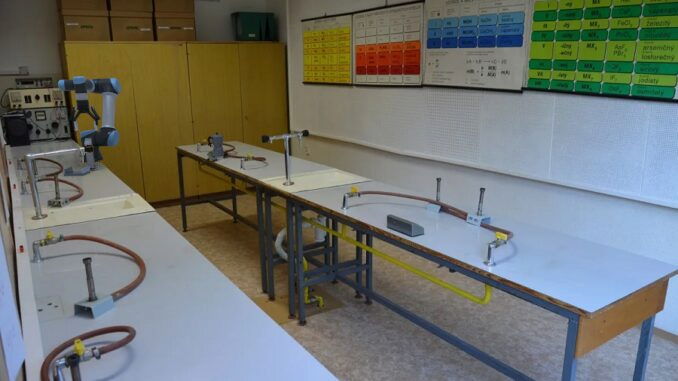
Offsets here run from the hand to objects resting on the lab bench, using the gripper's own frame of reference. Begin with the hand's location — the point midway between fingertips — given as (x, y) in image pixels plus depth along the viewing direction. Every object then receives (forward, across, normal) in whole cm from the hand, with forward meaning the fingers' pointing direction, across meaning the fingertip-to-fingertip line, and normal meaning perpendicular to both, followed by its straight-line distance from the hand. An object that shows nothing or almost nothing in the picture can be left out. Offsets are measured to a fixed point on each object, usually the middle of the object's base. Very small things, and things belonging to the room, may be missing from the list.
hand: (86, 130), depth 344 cm
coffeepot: (+26, +80, +40) cm, 93 cm away
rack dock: (+27, 0, -21) cm, 34 cm away
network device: (+27, 0, 0) cm, 27 cm away
